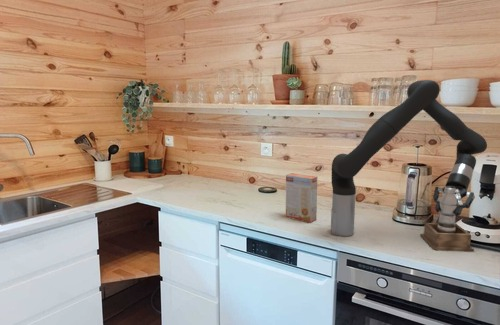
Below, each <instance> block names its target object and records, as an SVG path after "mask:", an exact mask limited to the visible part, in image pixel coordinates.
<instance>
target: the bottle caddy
mask: <svg viewBox="0 0 500 325" xmlns="http://www.w3.org/2000/svg"><path fill="white" fill-rule="evenodd" d="M438 223H439V222H438ZM438 223H433V222H425V223H424V226H423V227H424V229H423V233H420V235H419V236H420V237H421V239H422V240H423V241H424V242H425V243H426V244H427V245H428V246H429V247H430V248H431V249H432V251H446V252H448V251H450V252H452V251H453V252H470V253H471V252H475V249H474V248H473V247H472V246H471V238H472V234H470V233H469V232H468V231H467V230H465V229H463V227H461V226H460V225H458V224H457V223H455V229H456V233H438V232H437V226H438Z"/></svg>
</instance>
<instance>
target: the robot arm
mask: <svg viewBox="0 0 500 325" xmlns="http://www.w3.org/2000/svg"><path fill="white" fill-rule="evenodd" d="M440 89H441V88H440V85H439V84H438V82H436V81H435V80H432V79H422V80H417V81H414V82H412V83H411V84H409V86H408V88H407V93H406V94H407V98H406V99H405V100H404V101H403V102H401V103H400V104H399V105H397V106H396V107H394V108H392V109H390V110H389V111H387V112H386V113H384V114H382V115H381V116H380V117H379V118H378V119H377V120H376V121H375V122H374V123H373V124H372V125H371V126H370V127H369V129H368V130H367V131H366V133H365V135H364V137H363V138H362V140H361V141H360V143H359V144H358V145H357V146H355V148H354V149H353V150H352V151H350V152H349V153H339V154H336V156H335V157H334V158H333V160H332V162H331V188H332V198H331V199H332V203H331V205H332V206H331V209H330V212H331V214H330V232H331V235H334V236H335V235H336V236H340V237H350V236H353V235H354V234H355V212H356V196H357V194H356V193H357V192H356V189H357V188H356V185H355V182H354V181H355V180H354V177H355V176H356V175H357V174H358V173H359V172H360V171H361V170H362V169H363V168H364V166H365V165H366V164H367V163H368V162H369V161H370V160H371V158H373V157H374V156H375V155H376V154H377V153H378V152H379V151H380V150H382V149H383V147H384V146H385V145H387V144H388V143H389V142H390V141H392V139H393V138H395V136H397V135H398V133H399V132H401V130H403V129H404V128H405V127H406V125H408V124H409V123H410V122H411V121H412V120H413V119H414V118H415V117H416V116H417V115H418V114H419V113H421V112H422V111H423V112H425V113H426V114H427V115H428V116H429V117H431V119H433V121H435V122H436V123H437V124H438V125H439V126H440V127H441V129H442V130H444V131H445V133H446V134H448V136H449V137H450V138H451V139H452V140H453V141H459V142H458V143H457V145H456V159H455V162H454V164H453V166H452V168H451V170H450V172H449V175H448V178H447V179H446V180H447V181H446V183H445V186H452V187H455V188H456V190H455V191H456V193H455V195H456V197H457V198H458V201H459V203H458V206H457V208H456V211H455V216H456V217H459V216H461V215H462V211H463V209H465V208H466V209H469V208H470V207H471V205H472V204H473V201H474V200H475V198H476V197H475V193H474V191H472V192H471V191H470V192H468V189H469V186H470V183H471V182H472V178H473V173H474V170H475V167H476V164H477V158H476V157H475V155H477V154H481V153H483V152H485V151H486V150H487V148H488V144H487V141H486V139H485V137H483V136H482V135H481V134H480V133H479V132H476V131H474V129H471V128H469V126H467V125H466V124H465V123H464V122H463V120H462V119H461V118H459V116H457V115H456V114H455V113H454V112H452V111H451V110H449V109H448V108H446V106H444V105H443V104H441V103H440V102H439V101H438V100H437V99H438V96H439V95H440V91H441V90H440ZM445 186H444V187H443V188H441V187H439V186H435V187H434V192H433V196H432V199H433V201H434V203H435V207H434V209H435V212H436V213H440V198H441V196H442V195H443V194H444V193H445V192H444V190H445ZM442 192H443V193H442ZM441 193H442V194H441ZM440 194H441V195H440ZM465 197H467V198H466V200H465V202H463V200H462V199H463V198H465Z"/></svg>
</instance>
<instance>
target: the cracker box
mask: <svg viewBox="0 0 500 325" xmlns="http://www.w3.org/2000/svg"><path fill="white" fill-rule="evenodd" d="M317 206H318V176H316V175H307V174H301V173H288V174H285V218H289V217H290V219H293V218H294V219H293V220H298V221H303V222H307V223H312V222H314V221H317V216H318V215H317V212H318V210H317V209H318V207H317Z"/></svg>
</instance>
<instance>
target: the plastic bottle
mask: <svg viewBox="0 0 500 325" xmlns="http://www.w3.org/2000/svg"><path fill="white" fill-rule="evenodd" d="M444 187H445V190H444V192H445V193H444V192H443V193H444V194H443V193H442V194H443V195H442V194H441V195H442V196H441V195H440V197H441V198H440V197H439V198H440V211H439V217H438V226H437V232H438V233H456V229H455V224H456V217H457V216H455V211H456V208H457V206H458V205H459V201H458V198H457V197H456V195H455V193H456V191H455V190H456V188H455V187H452V186H446V185H445V186H444Z"/></svg>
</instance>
